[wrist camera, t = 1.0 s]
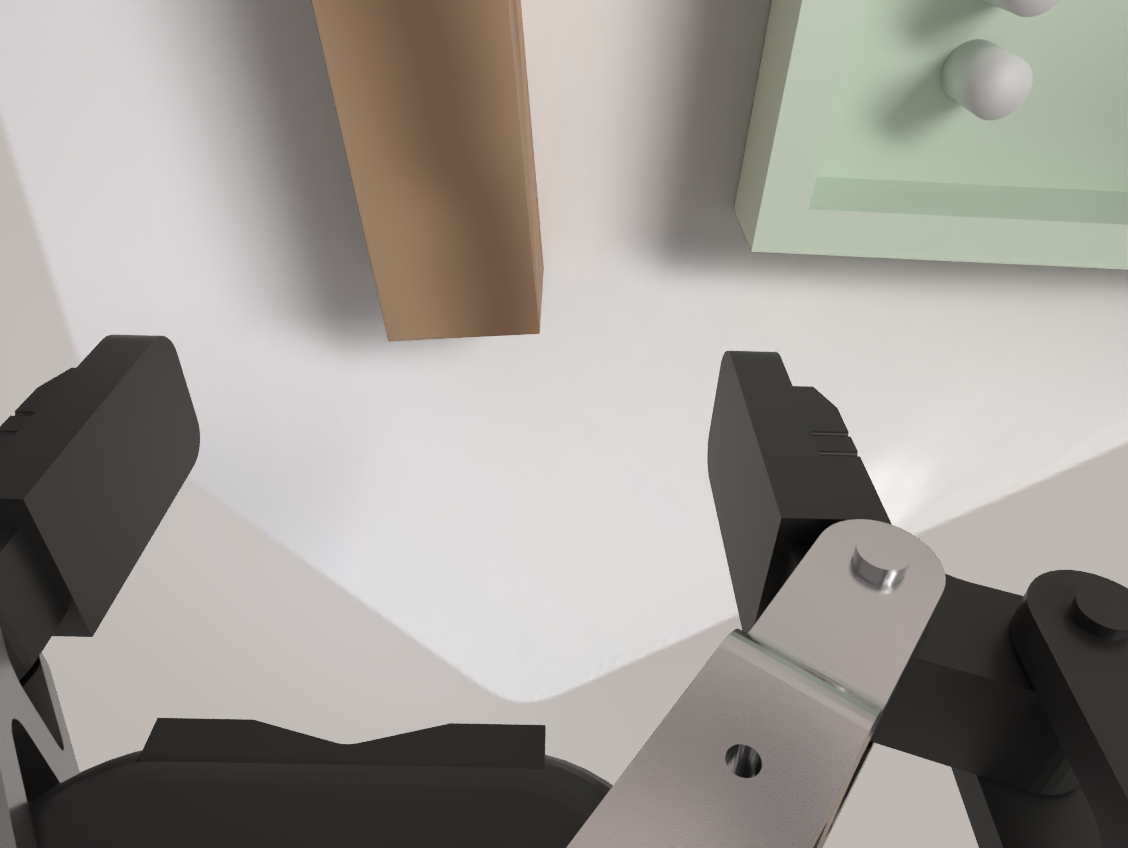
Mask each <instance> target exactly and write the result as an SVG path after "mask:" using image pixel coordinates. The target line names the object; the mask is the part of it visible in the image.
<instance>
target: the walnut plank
mask: <svg viewBox="0 0 1128 848" xmlns="http://www.w3.org/2000/svg"><path fill="white" fill-rule="evenodd" d="M312 4H313V9H314V13H315V18H316V22H317V27H318V31H319V35H320V40H321V44H322V49H323V53H324V58H325V62H326V66H327V71H328V75H329V80H330V84H331V89H332V93H333V97H334V102H335V106H336V111H337V115H338V119H339V124H340V128H341V133H342V137H343V142H344V146H345V150H346V155H347V159H348V164H349V168H350V173H351V177H352V181H353V186H354V190H355V195H356V199H357V204H358V208H359V212H360V217H361V221H362V226H363V230H364V235H365V239H366V243H367V248H368V252H369V257H370V261H371V265H372V270H373V274H374V279H375V283H376V288H377V292H378V296H379V301H380V305H381V310H382V314H383V319H384V323H385V327H386V332H387V336H388V341H403V340H423V339H442V338H462V337H482V336H502V335H521V334H539V333H540V317H541V302H542V286H543V270H544V268H543V256H542V245H541V233H540V221H539V210H538V198H537V186H536V175H535V163H534V151H533V140H532V128H531V116H530V105H529V93H528V81H527V70H526V58H525V46H524V35H523V23H522V11H521V0H312Z"/></svg>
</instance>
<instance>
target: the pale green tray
mask: <svg viewBox="0 0 1128 848" xmlns="http://www.w3.org/2000/svg"><path fill="white" fill-rule="evenodd" d="M734 211H735V213H736V216H737V218H738V221H739V223H740V225H741V228H742V230H743V233H744V235H745V238H746V240H747V242H748V245H749V247H750V250H751V252H768V253H789V254H810V255H831V256H852V257H873V258H894V259H915V260H936V261H957V262H978V263H999V264H1020V265H1041V266H1062V267H1082V268H1103V269H1124V270H1128V0H772V3H771V8H770V14H769V19H768V25H767V30H766V36H765V41H764V47H763V52H762V58H761V63H760V69H759V74H758V80H757V85H756V91H755V96H754V102H753V107H752V113H751V118H750V124H749V129H748V135H747V140H746V146H745V151H744V157H743V162H742V168H741V173H740V179H739V184H738V190H737V195H736V201H735V206H734Z"/></svg>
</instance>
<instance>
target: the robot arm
mask: <svg viewBox="0 0 1128 848" xmlns="http://www.w3.org/2000/svg"><path fill="white" fill-rule="evenodd" d="M199 446H200V430H199V424H198V420H197V417H196V414H195V411H194V407H193V404H192V401H191V397H190V394H189V391H188V388H187V384H186V381H185V378H184V375H183V371H182V368H181V365H180V361H179V358H178V355H177V352H176V349H175V347H174V345H173V343H172V342H171V341H170V340H169V339H168V338H167V337H165V336H142V335H109V336H107V337H105V338H104V339H103V340H102V341H101V342H100V343H99V344H98V345H97V346H96V347H95V348H94V349H93V350H92V352H91V353H90V354H89V355H88V356H87V357H86V358H85V359H84V360H83V361H82V362H81V363H80V365H79V366H78V367H77V368H71V369H69V370H67V371H65V372H64V373H62V374H60V375H58V376H57V377H55V378H53V379H52V380H50V381H48V382H47V383H45V384H43V385H41V386H40V387H38V388H37V389H36V390H35V391H34V392H33V393H32V394H31V395H30V396H29V397H28V398H27V399H26V400H25V401H24V402H23V403H22V404H21V405H20V407H19V408H18V409H17V410H16V411H15V416H10V417H9V418H8V419H7V420H6V421H5V422H4V423H3V424H2V425H1V426H0V848H823V846H824V844H825V841H826V840H827V838H828V836H829V834H830V832H831V830H832V828H833V826H834V824H835V822H836V820H837V817H838V815H839V814H840V812H841V810H842V808H843V805H844V804H845V801H846V800H847V797H848V796H849V794H850V791H851V790H852V787H853V785H854V784H855V781H856V780H857V778H858V776H859V773H860V772H861V770H862V768H863V765H864V764H865V761H866V759H867V757H868V755H869V753H870V751H871V749H872V747H873V745H874V743H878V744H881V745H884V746H887V747H890V748H893V749H897V750H900V751H903V752H906V753H909V754H912V755H916V756H919V757H922V758H925V759H928V760H931V761H935V762H938V763H941V764H944V765H947V766H950V767H951V768H952V771H953V774H954V776H955V779H956V782H957V785H958V788H959V791H960V794H961V797H962V799H963V802H964V805H965V808H966V811H967V814H968V817H969V819H970V823H971V826H972V829H973V831H974V834H975V837H976V840H977V843H978V846H979V848H1128V588H1126V587H1124V586H1122V585H1120V584H1118V583H1116V582H1114V581H1111V580H1109V579H1107V578H1104V577H1101V576H1098V575H1095V574H1091V573H1086V572H1082V571H1074V570H1057V571H1050V572H1047V573H1044V574H1042V575H1040V576H1038V577H1037V578H1035V579H1034V581H1033V582H1032V583H1031V584H1030V586H1029V588H1028V589H1027V592H1026V593H1025V595H1024V596H1021V595H1017V594H1013V593H1009V592H1005V591H1001V590H997V589H993V588H990V587H986V586H982V585H978V584H974V583H970V582H967V581H964V580H960V579H957V578H955V577H952V576H950V575H947V574H945V572H944V568H943V566H942V564H941V562H940V560H939V559H938V557H937V556H936V554H935V553H934V552H933V551H932V550H931V549H930V548H929V547H928V546H927V545H926V544H925V543H924V542H922V541H921V540H920V539H919V538H917V537H916V536H914V535H912V534H911V533H909V532H907V531H905V530H903V529H901V528H899V527H896V526H893V525H892V524H891V522H890V520H889V518H888V516H887V513H886V511H885V509H884V507H883V505H882V503H881V501H880V498H879V496H878V494H877V492H876V490H875V488H874V486H873V484H872V481H871V479H870V477H869V475H868V473H867V471H866V469H865V466H864V464H863V462H862V460H861V458H860V457H858V456H857V452H858V451H857V449H856V447H855V445H854V443H853V441H852V439H851V437H848V430H847V428H846V426H845V424H844V422H843V419H842V417H841V415H840V413H839V411H838V409H837V407H835V406H834V405H833V404H832V403H831V402H830V401H829V400H827V399H826V398H825V397H824V396H823V395H822V394H821V393H819V392H818V391H817V390H816V389H815V388H814V387H799V386H792V384H791V381H790V379H789V376H788V374H787V371H786V369H785V367H784V364H783V362H782V359H781V357H780V355H779V354H778V353H777V352H750V351H726V352H725V353H724V355H723V358H722V362H721V367H720V372H719V378H718V384H717V390H716V396H715V402H714V408H713V414H712V420H711V426H710V432H709V439H708V473H709V479H710V484H711V488H712V493H713V498H714V502H715V507H716V511H717V516H718V520H719V525H720V530H721V534H722V539H723V543H724V548H725V552H726V557H727V562H728V566H729V571H730V575H731V580H732V584H733V589H734V594H735V598H736V603H737V607H738V612H739V617H740V621H741V625H742V630H743V631H741V630H740V629H735V630H734V631H732V632H731V633H730V634H729V635H728V636H727V637H726V638H725V639H724V640H723V642H722V643H721V644H720V645H719V647H718V648H717V649H716V651H715V652H714V653H713V655H712V656H711V657H710V658H709V660H708V661H707V662H706V664H705V665H704V667H703V668H702V669H701V671H700V672H699V673H698V674H697V676H696V677H695V678H694V680H693V681H692V682H691V684H690V685H689V686H688V688H687V689H686V690H685V691H684V693H683V694H682V695H681V697H680V698H679V699H678V701H677V702H676V703H675V705H674V706H673V707H672V709H671V710H670V711H669V713H668V714H667V715H666V717H665V718H664V719H663V721H662V722H661V723H660V725H659V726H658V727H657V728H656V730H655V731H654V732H653V734H652V735H651V736H650V738H649V739H648V741H647V742H646V743H645V744H644V746H643V747H642V748H641V750H640V751H639V752H638V754H637V755H636V756H635V758H634V759H633V760H632V762H631V763H630V764H629V766H628V767H627V768H626V769H625V771H624V772H623V773H622V775H621V776H620V777H619V779H618V780H617V781H616V783H615V784H614V785H611V784H610V783H609V782H607V781H606V780H604V779H602V778H600V777H598V776H597V775H595V774H593V773H592V772H590V771H588V770H586V769H584V768H582V767H579V766H577V765H575V764H572V763H570V762H567V761H565V760H561V759H558V758H555V757H551V756H548V755H545V725H503V724H502V725H501V724H447V725H441V726H437V727H432V728H428V729H423V730H418V731H413V732H409V733H405V734H399V735H395V736H390V737H386V738H381V739H376V740H372V741H367V742H362V743H358V744H338V743H334V742H331V741H327V740H323V739H320V738H316V737H313V736H309V735H305V734H302V733H298V732H295V731H291V730H288V729H284V728H281V727H277V726H273V725H270V724H266V723H263V722H259V721H256V720H236V719H183V718H182V719H181V718H179V719H178V718H158V719H157V721H156V723H155V725H154V727H153V729H152V732H151V734H150V736H149V738H148V740H147V742H146V744H145V747H144V749H143V750H142V751H138V752H134V753H131V754H127V755H124V756H121V757H118V758H115V759H112V760H109V761H106V762H104V763H102V764H99V765H97V766H94V767H92V768H90V769H88V770H85V771H83V772H81V773H80V772H79V769H78V765H77V762H76V758H75V755H74V751H73V748H72V744H71V741H70V737H69V734H68V730H67V727H66V723H65V720H64V716H63V713H62V709H61V706H60V702H59V699H58V695H57V692H56V688H55V685H54V681H53V678H52V674H51V671H50V668H49V665H48V663H47V661H46V659H45V657H44V656H43V654H42V650H43V649H44V647H45V646H46V644H47V643H48V641H49V640H50V638H51V636H78V637H80V636H81V637H93V635H94V633H95V632H96V630H97V628H98V627H99V625H100V623H101V621H102V620H103V618H104V616H105V615H106V613H107V611H108V610H109V608H110V606H111V605H112V603H113V601H114V600H115V598H116V596H117V594H118V593H119V591H120V589H121V588H122V586H123V584H124V583H125V581H126V579H127V578H128V576H129V574H130V573H131V571H132V569H133V567H134V566H135V564H136V562H137V561H138V559H139V557H140V556H141V554H142V552H143V551H144V549H145V547H146V546H147V544H148V542H149V541H150V539H151V537H152V535H153V534H154V532H155V530H156V529H157V527H158V525H159V524H160V522H161V520H162V519H163V517H164V515H165V513H166V512H167V510H168V508H169V507H170V505H171V503H172V502H173V500H174V498H175V496H176V495H177V493H178V492H179V490H180V488H181V487H182V485H183V483H184V481H185V480H186V478H187V476H188V475H189V473H190V471H191V470H192V468H193V466H194V464H195V462H196V459H197V456H198V452H199Z"/></svg>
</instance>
